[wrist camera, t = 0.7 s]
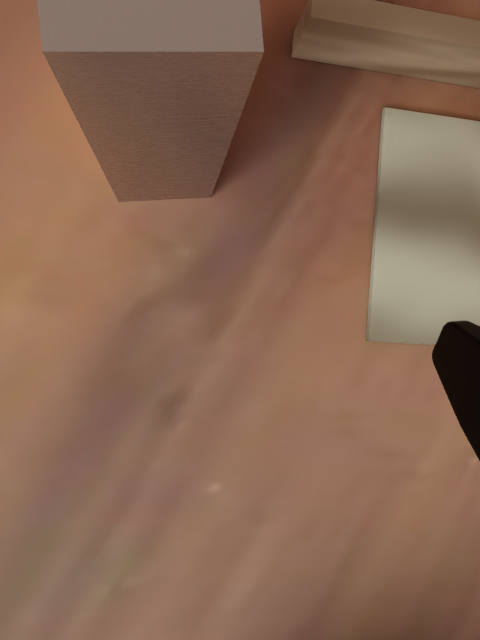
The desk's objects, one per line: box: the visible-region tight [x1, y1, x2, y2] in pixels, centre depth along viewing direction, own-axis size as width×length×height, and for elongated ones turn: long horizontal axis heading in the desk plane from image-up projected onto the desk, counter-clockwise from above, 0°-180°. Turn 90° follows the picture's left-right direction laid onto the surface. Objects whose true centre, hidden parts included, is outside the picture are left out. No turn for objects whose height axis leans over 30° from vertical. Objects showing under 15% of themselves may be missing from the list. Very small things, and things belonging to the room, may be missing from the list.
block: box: [37, 0, 264, 202], centre depth 14 cm, size 8×4×12 cm, turn 5°
